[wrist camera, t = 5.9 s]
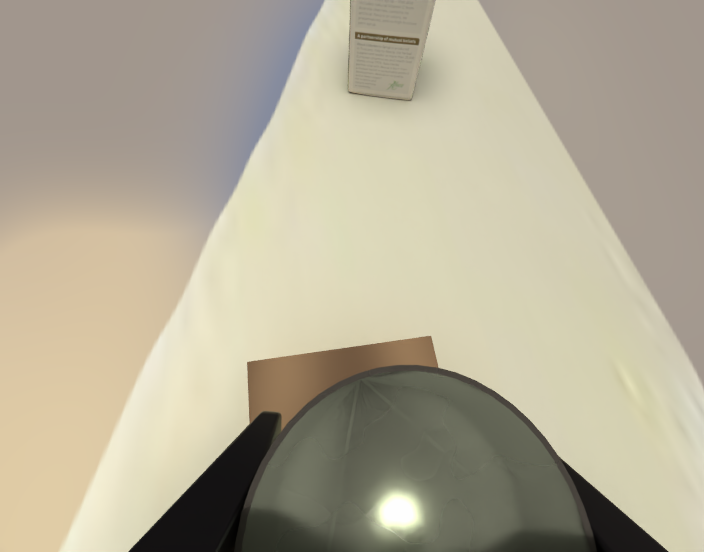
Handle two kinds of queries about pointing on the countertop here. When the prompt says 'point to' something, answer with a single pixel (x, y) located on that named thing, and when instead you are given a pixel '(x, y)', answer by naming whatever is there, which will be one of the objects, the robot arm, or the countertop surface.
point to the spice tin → (412, 473)
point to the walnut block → (324, 373)
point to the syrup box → (387, 46)
